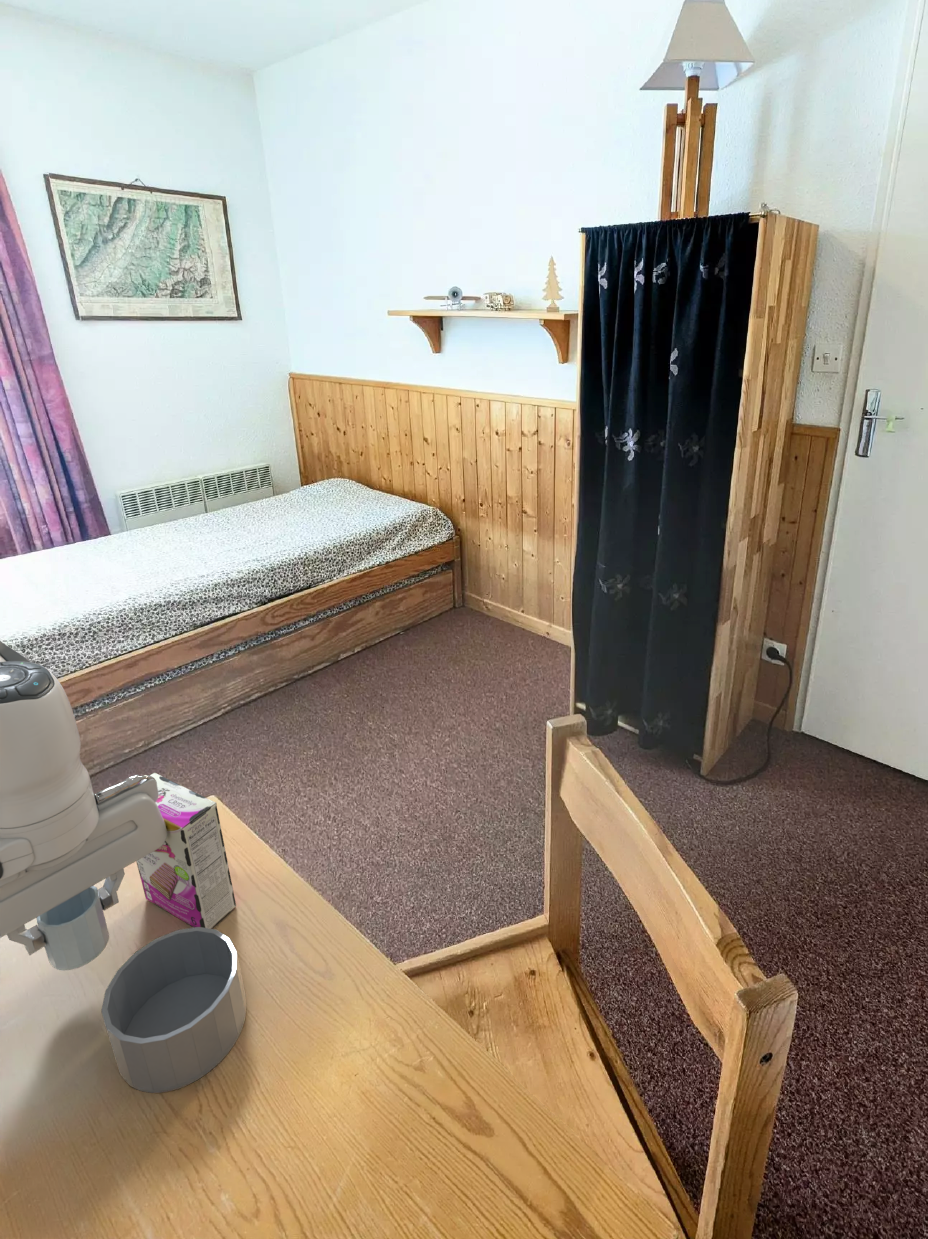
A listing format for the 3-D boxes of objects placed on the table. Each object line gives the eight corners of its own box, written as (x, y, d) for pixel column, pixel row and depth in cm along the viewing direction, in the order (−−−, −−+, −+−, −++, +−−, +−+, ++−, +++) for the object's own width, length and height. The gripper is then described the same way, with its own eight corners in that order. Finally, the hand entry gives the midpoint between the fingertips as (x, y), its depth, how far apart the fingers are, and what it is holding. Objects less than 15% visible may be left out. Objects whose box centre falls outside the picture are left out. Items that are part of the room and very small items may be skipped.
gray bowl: (96, 1037, 68) (81, 988, 66) (211, 953, 77) (202, 907, 75) (149, 1124, 61) (134, 1072, 59) (269, 1020, 70) (261, 972, 68)
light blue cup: (40, 950, 71) (27, 907, 69) (97, 916, 75) (87, 874, 73) (60, 981, 68) (46, 937, 66) (118, 944, 72) (107, 901, 70)
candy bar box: (142, 902, 84) (115, 795, 78) (178, 873, 88) (154, 770, 82) (204, 939, 79) (180, 828, 73) (238, 907, 83) (218, 799, 77)
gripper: (140, 755, 75) (160, 852, 80) (-99, 864, 60) (-56, 976, 65) (166, 779, 71) (186, 880, 76) (-82, 903, 56) (-38, 1018, 61)
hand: (73, 925), depth 70 cm, fingers closed on light blue cup, 5 cm apart
